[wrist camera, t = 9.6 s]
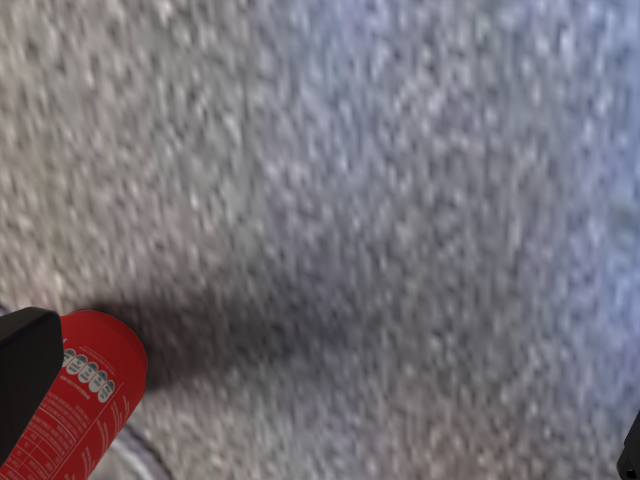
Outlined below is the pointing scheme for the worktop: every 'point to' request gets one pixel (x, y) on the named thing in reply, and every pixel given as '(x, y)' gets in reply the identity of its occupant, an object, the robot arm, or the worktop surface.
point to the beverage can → (82, 400)
